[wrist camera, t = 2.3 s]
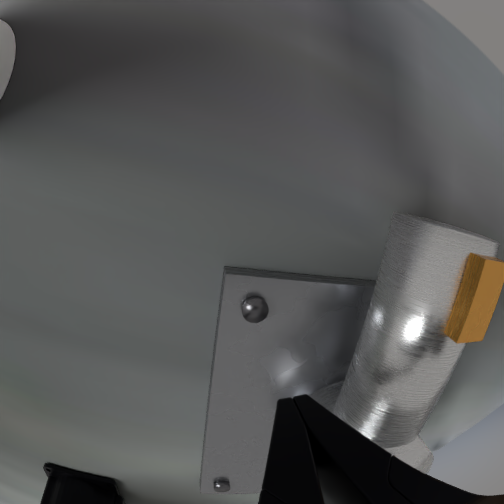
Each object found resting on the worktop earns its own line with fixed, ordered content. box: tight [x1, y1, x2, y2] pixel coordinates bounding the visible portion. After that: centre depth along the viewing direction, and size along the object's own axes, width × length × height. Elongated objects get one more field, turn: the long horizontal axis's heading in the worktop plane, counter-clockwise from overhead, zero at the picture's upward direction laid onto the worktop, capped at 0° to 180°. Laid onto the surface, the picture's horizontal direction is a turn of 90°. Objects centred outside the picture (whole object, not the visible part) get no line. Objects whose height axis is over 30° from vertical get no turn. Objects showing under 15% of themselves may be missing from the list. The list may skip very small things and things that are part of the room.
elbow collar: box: [309, 212, 504, 474], centre depth 13 cm, size 16×7×6 cm, turn 171°
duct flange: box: [200, 266, 376, 494], centre depth 17 cm, size 16×18×3 cm
